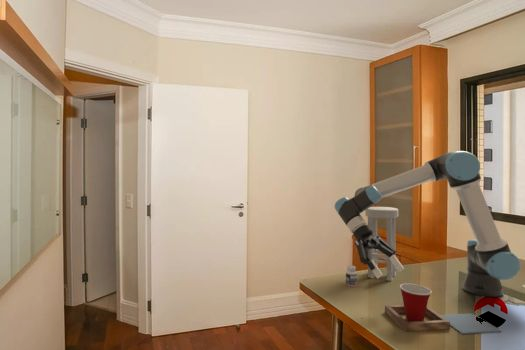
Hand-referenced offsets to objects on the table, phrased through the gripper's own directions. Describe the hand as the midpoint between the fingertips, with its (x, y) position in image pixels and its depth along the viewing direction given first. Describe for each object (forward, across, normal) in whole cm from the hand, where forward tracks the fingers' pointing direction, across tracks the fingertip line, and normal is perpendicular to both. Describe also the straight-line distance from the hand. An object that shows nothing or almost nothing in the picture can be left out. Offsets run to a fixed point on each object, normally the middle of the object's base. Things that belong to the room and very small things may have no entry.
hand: (391, 273), depth 135 cm
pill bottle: (-10, -12, -32) cm, 35 cm away
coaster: (+26, -12, +6) cm, 29 cm away
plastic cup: (+18, 0, -4) cm, 18 cm away
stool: (-10, -34, -31) cm, 48 cm away
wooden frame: (+18, 0, -3) cm, 18 cm away
